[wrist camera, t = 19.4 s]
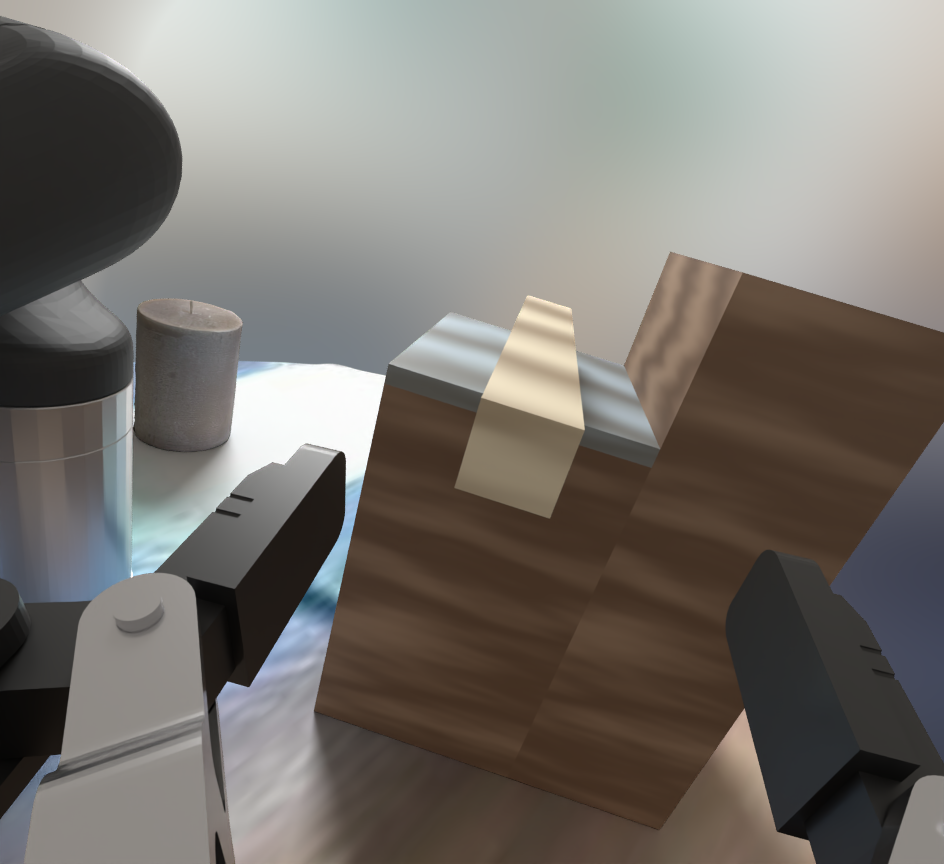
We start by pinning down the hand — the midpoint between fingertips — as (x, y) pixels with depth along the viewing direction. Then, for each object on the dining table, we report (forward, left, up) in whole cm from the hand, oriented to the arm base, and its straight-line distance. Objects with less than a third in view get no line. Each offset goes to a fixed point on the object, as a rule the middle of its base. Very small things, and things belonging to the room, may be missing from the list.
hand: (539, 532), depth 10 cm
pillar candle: (-5, +53, -27) cm, 60 cm away
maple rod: (+9, +13, -2) cm, 16 cm away
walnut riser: (+16, +15, -26) cm, 34 cm away
